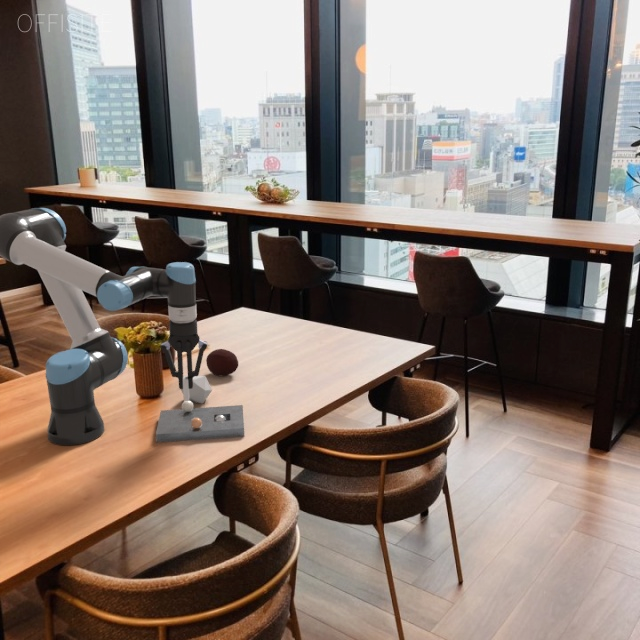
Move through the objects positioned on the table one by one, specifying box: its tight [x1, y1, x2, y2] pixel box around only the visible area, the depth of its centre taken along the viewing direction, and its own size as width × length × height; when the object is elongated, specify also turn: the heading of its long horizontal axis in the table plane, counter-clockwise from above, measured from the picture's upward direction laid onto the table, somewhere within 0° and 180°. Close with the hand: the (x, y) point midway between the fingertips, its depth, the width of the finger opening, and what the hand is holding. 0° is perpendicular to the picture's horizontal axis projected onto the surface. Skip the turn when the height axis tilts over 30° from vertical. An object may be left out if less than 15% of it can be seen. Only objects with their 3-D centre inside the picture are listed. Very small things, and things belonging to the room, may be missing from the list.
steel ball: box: [214, 415, 226, 422], centre depth 199 cm, size 3×3×3 cm
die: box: [180, 375, 213, 404], centre depth 216 cm, size 8×9×10 cm
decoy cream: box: [181, 400, 194, 412], centre depth 203 cm, size 3×3×3 cm
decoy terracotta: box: [191, 418, 202, 429], centre depth 192 cm, size 3×3×3 cm
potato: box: [205, 348, 239, 377], centre depth 237 cm, size 9×12×9 cm
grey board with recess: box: [155, 404, 245, 443], centre depth 198 cm, size 24×16×2 cm, turn 98°
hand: (186, 398), depth 196 cm, fingers closed
